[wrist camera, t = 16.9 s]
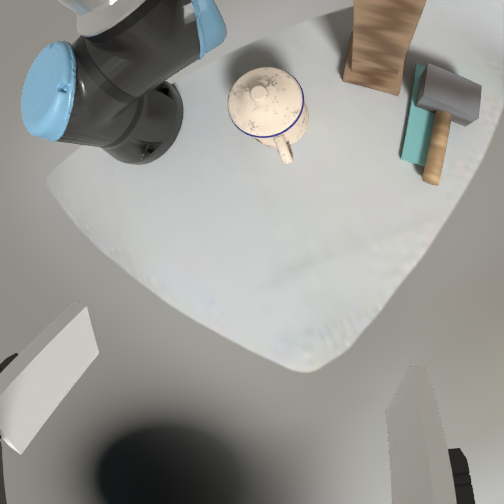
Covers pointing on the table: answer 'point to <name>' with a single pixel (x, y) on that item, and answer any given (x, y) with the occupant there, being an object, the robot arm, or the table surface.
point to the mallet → (445, 111)
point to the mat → (417, 127)
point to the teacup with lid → (269, 108)
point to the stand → (381, 42)
